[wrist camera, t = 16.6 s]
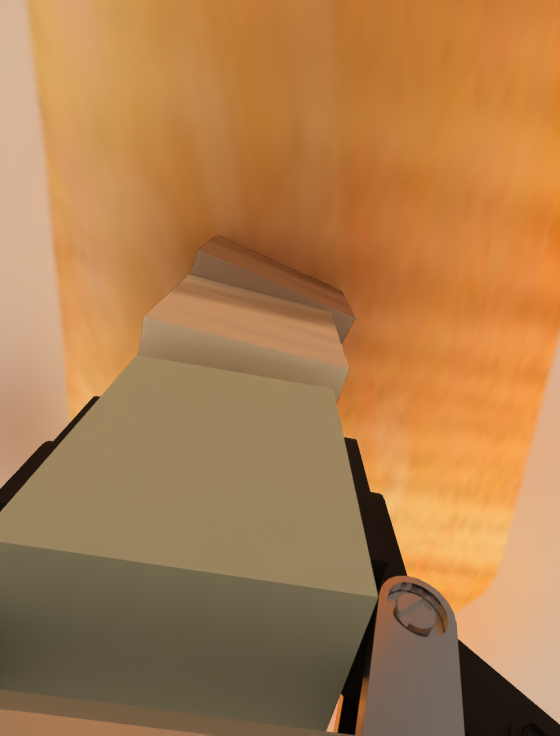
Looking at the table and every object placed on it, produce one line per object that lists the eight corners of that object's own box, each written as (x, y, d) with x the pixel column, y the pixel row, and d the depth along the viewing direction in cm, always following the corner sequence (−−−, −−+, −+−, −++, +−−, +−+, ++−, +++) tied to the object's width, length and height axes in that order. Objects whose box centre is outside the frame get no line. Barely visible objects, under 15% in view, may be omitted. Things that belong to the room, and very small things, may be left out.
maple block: (189, 274, 17) (143, 316, 12) (330, 311, 18) (349, 368, 12) (166, 401, 20) (119, 484, 14) (292, 430, 20) (293, 522, 15)
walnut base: (217, 235, 22) (198, 249, 17) (341, 290, 23) (355, 318, 18) (174, 353, 24) (147, 393, 20) (287, 398, 25) (287, 446, 21)
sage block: (137, 355, 11) (-23, 538, 5) (333, 388, 11) (377, 596, 5) (129, 509, 13) (6, 761, 7) (295, 535, 13) (300, 796, 7)
